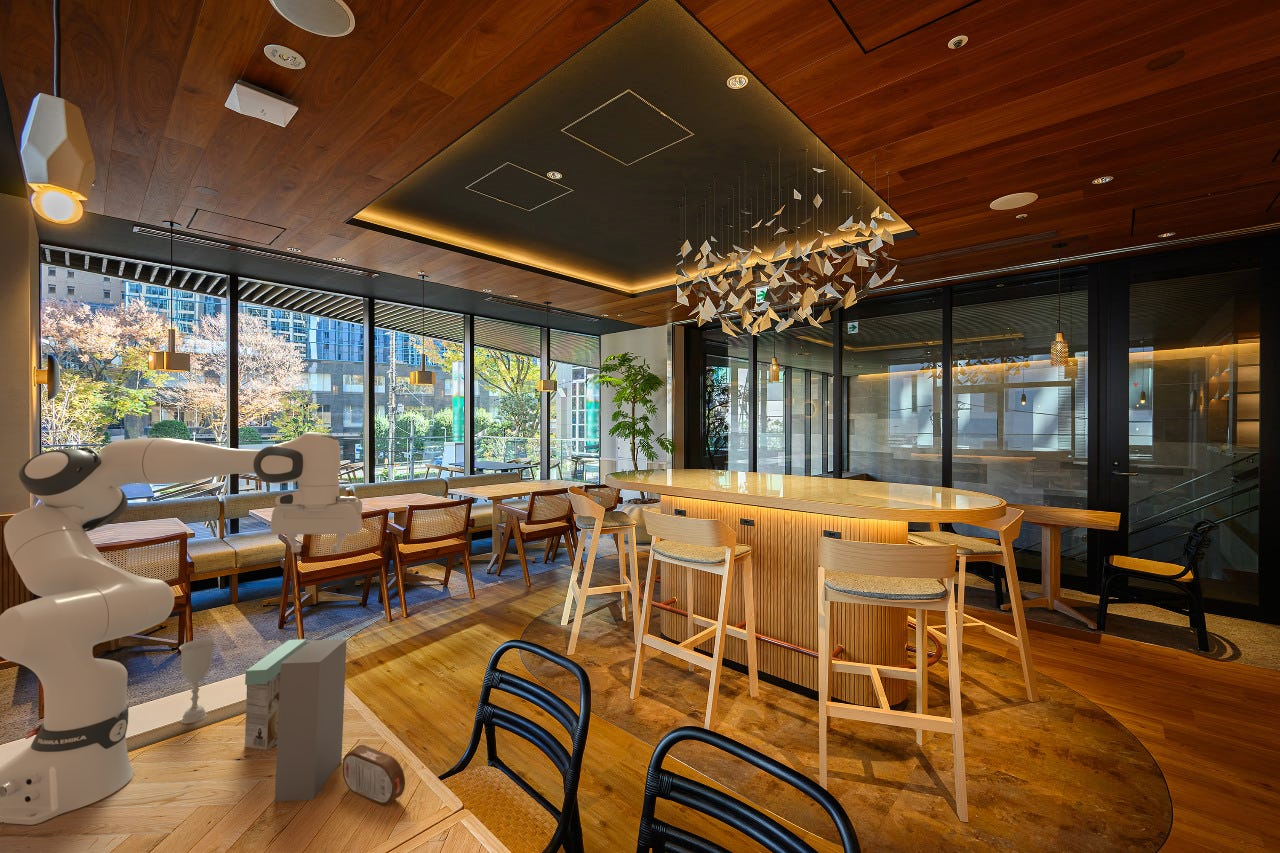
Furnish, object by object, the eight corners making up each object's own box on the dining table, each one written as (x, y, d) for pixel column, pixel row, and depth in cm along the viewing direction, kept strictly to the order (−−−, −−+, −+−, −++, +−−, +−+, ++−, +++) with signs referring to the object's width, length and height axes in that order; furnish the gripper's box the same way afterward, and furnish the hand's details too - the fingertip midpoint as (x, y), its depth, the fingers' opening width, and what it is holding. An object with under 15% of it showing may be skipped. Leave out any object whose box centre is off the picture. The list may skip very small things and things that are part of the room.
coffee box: (278, 726, 125) (282, 658, 126) (301, 729, 124) (304, 661, 125) (242, 747, 116) (246, 674, 117) (266, 751, 115) (270, 677, 116)
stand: (274, 802, 99) (280, 663, 100) (306, 763, 111) (312, 640, 112) (313, 799, 100) (319, 662, 101) (341, 761, 112) (346, 639, 113)
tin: (405, 803, 99) (407, 758, 100) (391, 813, 96) (393, 767, 97) (352, 780, 106) (354, 738, 106) (338, 790, 103) (339, 746, 103)
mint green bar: (245, 684, 112) (245, 670, 112) (288, 651, 130) (289, 639, 130) (265, 683, 113) (265, 669, 113) (306, 651, 130) (306, 639, 130)
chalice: (194, 726, 124) (198, 650, 125) (166, 725, 124) (170, 649, 125) (219, 710, 132) (223, 638, 132) (193, 710, 132) (197, 638, 132)
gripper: (367, 495, 135) (365, 549, 135) (282, 495, 133) (280, 549, 132) (357, 498, 129) (354, 554, 128) (268, 497, 126) (265, 554, 126)
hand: (316, 551), depth 130 cm, fingers open, 8 cm apart
